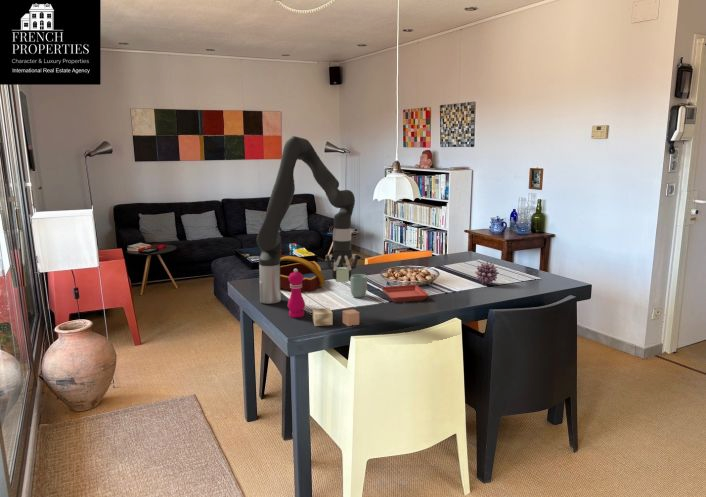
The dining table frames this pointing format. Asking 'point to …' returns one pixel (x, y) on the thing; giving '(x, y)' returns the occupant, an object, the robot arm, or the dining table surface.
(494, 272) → the purple spiky ball
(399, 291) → the plant saucer
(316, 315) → the birch block
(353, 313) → the terracotta cube
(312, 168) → the robot arm
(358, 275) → the cup
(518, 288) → the dining table surface
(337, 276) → the sage cube
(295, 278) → the pepper mill
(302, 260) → the decorative basket
